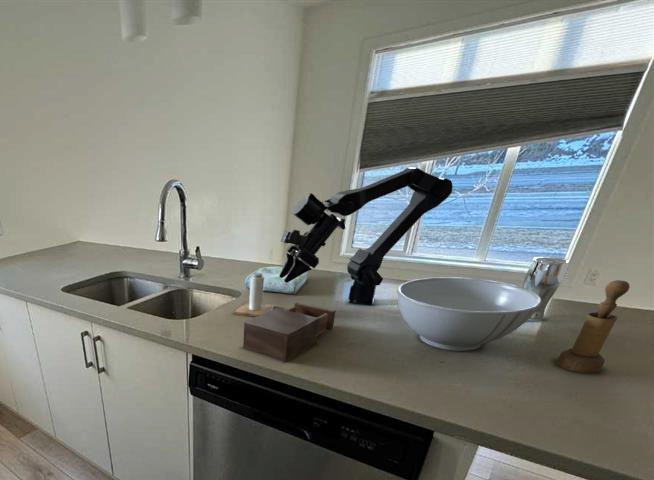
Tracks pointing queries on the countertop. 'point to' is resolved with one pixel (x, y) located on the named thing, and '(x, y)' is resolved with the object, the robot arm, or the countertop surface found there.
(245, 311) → the cork mat
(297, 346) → the cabinet
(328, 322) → the drawer
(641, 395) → the countertop surface
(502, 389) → the countertop surface
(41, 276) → the countertop surface
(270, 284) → the towel
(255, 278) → the salt mill
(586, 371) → the mortar and pestle
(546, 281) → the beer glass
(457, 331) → the decorative bowl
